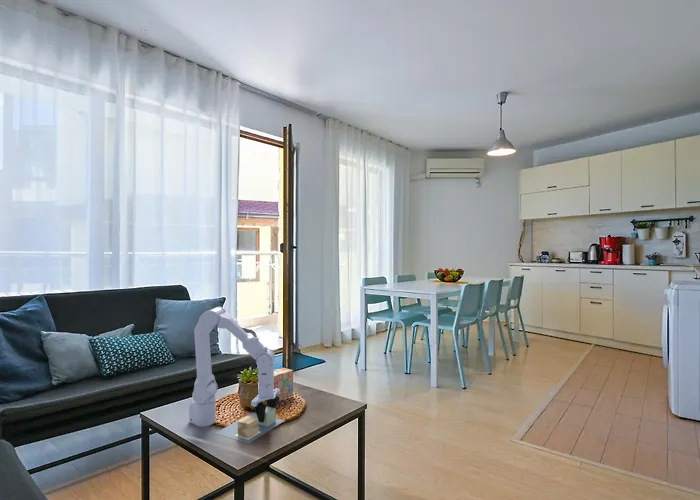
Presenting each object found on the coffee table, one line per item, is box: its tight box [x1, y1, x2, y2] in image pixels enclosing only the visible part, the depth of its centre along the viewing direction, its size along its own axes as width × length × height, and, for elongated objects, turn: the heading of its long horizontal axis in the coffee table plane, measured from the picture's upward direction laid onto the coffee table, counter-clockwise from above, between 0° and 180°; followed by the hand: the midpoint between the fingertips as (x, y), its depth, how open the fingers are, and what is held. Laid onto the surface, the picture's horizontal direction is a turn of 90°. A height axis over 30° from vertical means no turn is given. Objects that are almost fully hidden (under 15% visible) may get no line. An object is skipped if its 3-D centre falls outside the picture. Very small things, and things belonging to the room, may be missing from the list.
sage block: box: [257, 406, 277, 427], centre depth 150 cm, size 5×5×5 cm
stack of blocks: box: [273, 367, 294, 402], centre depth 172 cm, size 21×6×12 cm, turn 142°
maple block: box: [237, 415, 258, 438], centre depth 141 cm, size 5×5×5 cm
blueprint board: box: [214, 412, 286, 444], centre depth 147 cm, size 16×20×1 cm
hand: (266, 418), depth 150 cm, fingers closed on sage block, 5 cm apart
